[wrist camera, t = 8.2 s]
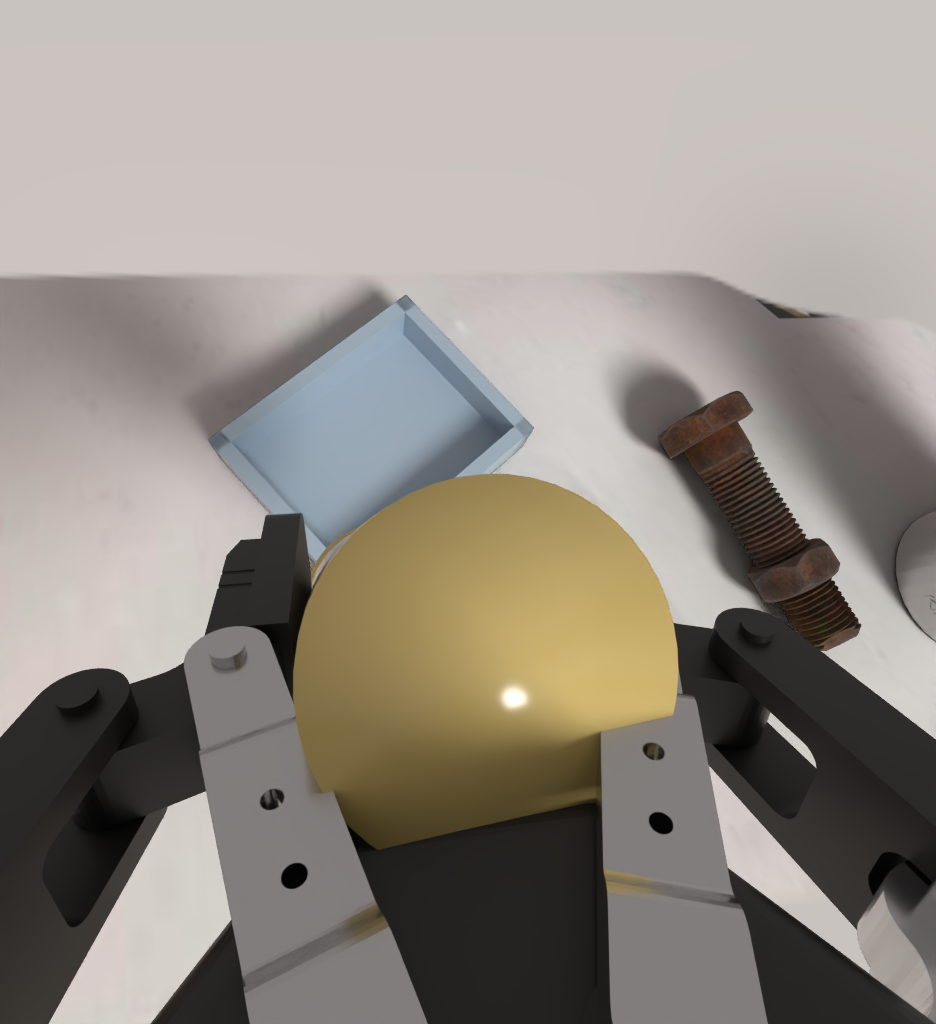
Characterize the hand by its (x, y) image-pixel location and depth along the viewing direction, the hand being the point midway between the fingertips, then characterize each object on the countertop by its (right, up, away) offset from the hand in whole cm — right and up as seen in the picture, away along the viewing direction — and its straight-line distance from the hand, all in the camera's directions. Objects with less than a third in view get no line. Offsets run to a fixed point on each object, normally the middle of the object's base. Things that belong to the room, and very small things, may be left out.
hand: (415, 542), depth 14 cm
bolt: (+18, -1, +25) cm, 31 cm away
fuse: (-2, -2, +6) cm, 6 cm away
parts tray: (-4, +4, +23) cm, 24 cm away
